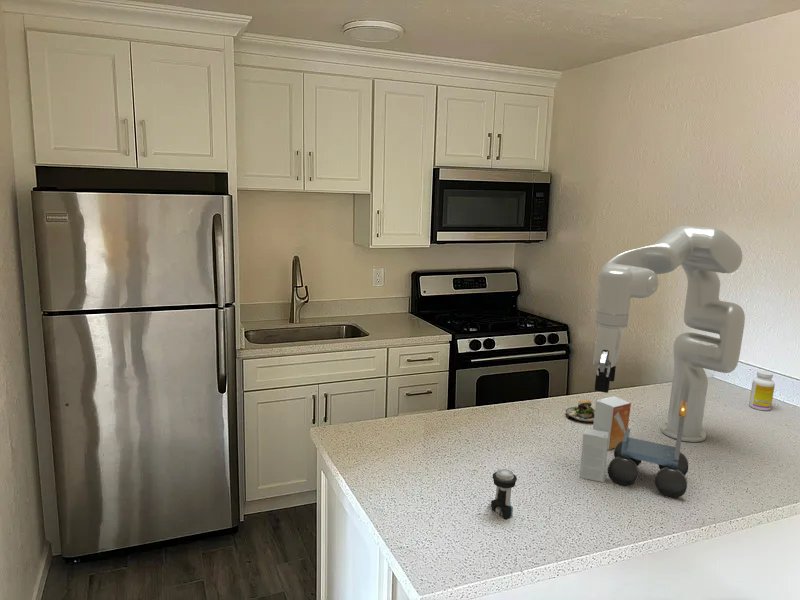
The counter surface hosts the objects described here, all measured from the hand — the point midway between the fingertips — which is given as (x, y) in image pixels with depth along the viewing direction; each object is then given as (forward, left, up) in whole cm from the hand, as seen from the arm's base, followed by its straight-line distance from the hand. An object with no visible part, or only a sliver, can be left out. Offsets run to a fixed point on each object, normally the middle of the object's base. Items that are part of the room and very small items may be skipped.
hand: (604, 385), depth 149 cm
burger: (-40, -10, -25) cm, 48 cm away
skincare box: (+1, -1, -25) cm, 25 cm away
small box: (-23, 0, -25) cm, 34 cm away
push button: (+30, -16, -25) cm, 42 cm away
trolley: (-4, +12, -24) cm, 28 cm away
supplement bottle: (-84, +42, -25) cm, 97 cm away
